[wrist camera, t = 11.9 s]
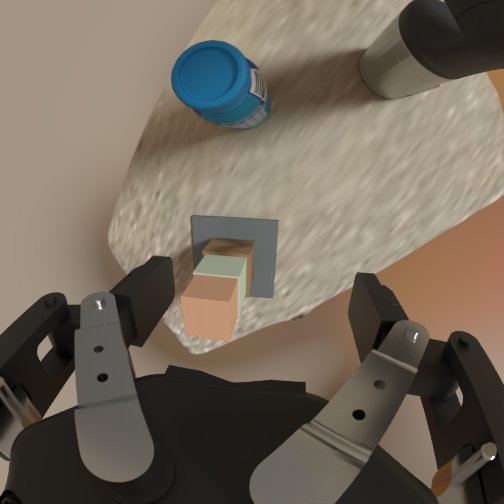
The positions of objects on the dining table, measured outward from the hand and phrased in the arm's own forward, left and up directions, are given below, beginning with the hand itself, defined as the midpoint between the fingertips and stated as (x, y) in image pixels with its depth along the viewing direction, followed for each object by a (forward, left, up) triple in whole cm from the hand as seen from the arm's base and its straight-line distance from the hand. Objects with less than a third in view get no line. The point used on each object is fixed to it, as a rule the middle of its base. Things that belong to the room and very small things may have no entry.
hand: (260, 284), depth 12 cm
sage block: (+7, +13, -26) cm, 30 cm away
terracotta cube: (+7, +13, -20) cm, 25 cm away
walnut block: (+7, +13, -32) cm, 35 cm away
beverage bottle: (+6, -12, -32) cm, 35 cm away
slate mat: (+7, +13, -32) cm, 35 cm away
